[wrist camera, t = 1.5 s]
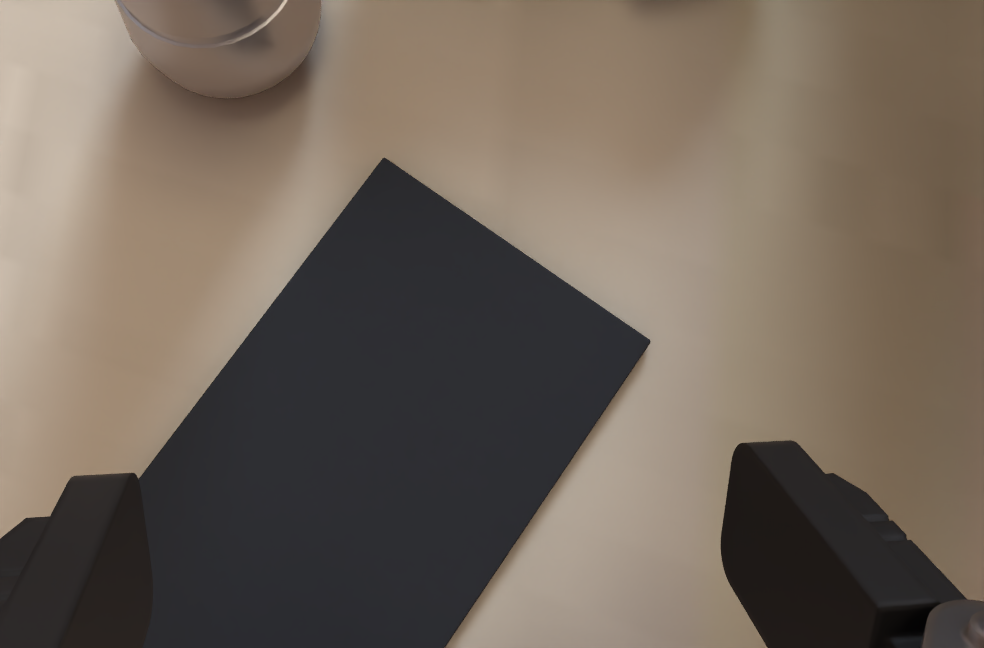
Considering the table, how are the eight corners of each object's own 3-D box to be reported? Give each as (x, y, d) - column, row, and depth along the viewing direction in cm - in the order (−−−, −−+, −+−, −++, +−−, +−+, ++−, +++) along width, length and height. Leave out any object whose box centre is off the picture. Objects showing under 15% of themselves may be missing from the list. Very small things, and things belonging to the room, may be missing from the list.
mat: (384, 161, 32) (383, 156, 32) (648, 342, 31) (651, 340, 31) (6, 659, 29) (-2, 663, 28) (290, 873, 28) (287, 881, 28)
